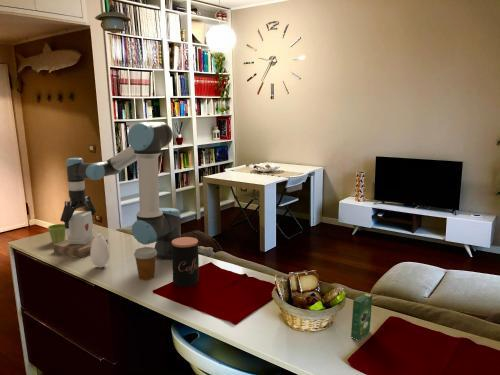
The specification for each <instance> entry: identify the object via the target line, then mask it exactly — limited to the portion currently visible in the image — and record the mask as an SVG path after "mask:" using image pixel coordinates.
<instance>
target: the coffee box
mask: <svg viewBox="0 0 500 375" xmlns="http://www.w3.org/2000/svg"><path fill="white" fill-rule="evenodd" d="M352 302H353V303H352V316H351V317H352V318H351V328H350V329H351V333H350V338H351V337H353V338H355V339H357V340H359V339H360V338H361V337H362V338H364V337H365V336H366V335H367V334H368V332H369V331H370V330H371V319H372V317H371V316H372V304H373V294H371V293H368V292H364V293H363V294H361V295H359V296H358V297H356V298H355V299H353V301H352ZM370 332H371V331H370ZM370 332H369V333H370ZM365 334H366V335H365ZM364 335H365V336H364ZM363 336H364V337H363ZM362 338H361V339H362ZM361 339H360V340H361ZM360 340H359V341H360Z"/></svg>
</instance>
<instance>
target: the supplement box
mask: <svg viewBox="0 0 500 375" xmlns="http://www.w3.org/2000/svg"><path fill="white" fill-rule="evenodd" d="M69 222H71V232H72V235H67V240H68V243H69V244H84V245H85V244H87V243H88V242H90V241H91V240H93V237H94V233H93V228H92V215H91V211H85V210H75V211H74V213H73V215H72V217H71V219H70V221H69Z"/></svg>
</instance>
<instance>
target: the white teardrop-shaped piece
mask: <svg viewBox="0 0 500 375" xmlns="http://www.w3.org/2000/svg"><path fill="white" fill-rule="evenodd" d="M94 237H95V238H94V240H93V242H92V245H91V251H90V254H89V255H90V258H91V262H92V263H93V265H94V266H96V267H97V268H99V269H100V268H103V267H105V266H106V265H107V264H108V262H109V260H110V249H109V244H108V245H107V242H106V241H105V239H106V238H104V236H103V234H101V233H100V229H99V228H98V229H97V234H95V236H94Z"/></svg>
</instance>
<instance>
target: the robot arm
mask: <svg viewBox="0 0 500 375" xmlns="http://www.w3.org/2000/svg"><path fill="white" fill-rule="evenodd" d="M172 140H173V130H172V128H171V127H170V126H169V125H168V124H167V123H166V122H164V121H143V122H137V123H135V124H133V125H132V126H131V127H130V129H129V130H128V133H127V143H128V145H129V146H128V147H126V148H124V149H123V150H121V151H120V152H118V153H116V154H114V155H113V156H112V157H110V158H109V159H107V160H104V161H97V162H88V163H87V162H84V160H83V158H82V157H70V158H69V157H68V158H67V159H66V161H65V162H66V166H65V167H66V177H67V187H68V197H69V201H66V200H65V201H64V207H63V210H62V213H61V217H60V222H63V224H65V228H66V230H65V235H67V236H68V235H72V232H71V222H69V221H70V219H71V217H72V215H73V213H74V211H77V209H80V208H82V209H83V211H91V215H92V229H93V228H94V215H95V214H96V213H97V210H96V208H95V206H94V204H93V202H92V200H91V196H87V195H86V189H85V188H86V186H85V179H86V180H92V181H94V180H95V181H97V180H101V179H102V178H103V177H109V176H115V175H117V174H120V173H121V172H122V171H123V170H124V169H125V168H127V167H128V166H130V165H131V164H134V163H135V162H137V168H138V198H139V210H138V211H137V213H136V221H134V222H133V224H132V225H131V233H132V236H133V238H134V239H135V240H136V241H137V242H138V243H139V244H142V245H150V244H153V243H155V245H154V248H155V249H156V251H157V255H156V259H160V260H172V246H173V245H172V240H174V239H176V238H180V237H182V234H181V230H182V229H181V228H182V226H181V218H182V216H181V210H179V209H177V208H172V207H160V186H159V185H160V182H159V181H160V180H159V156H160V155H161V154H162V149H163V148H165V147H168V145H169V144H171V142H172Z"/></svg>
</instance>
